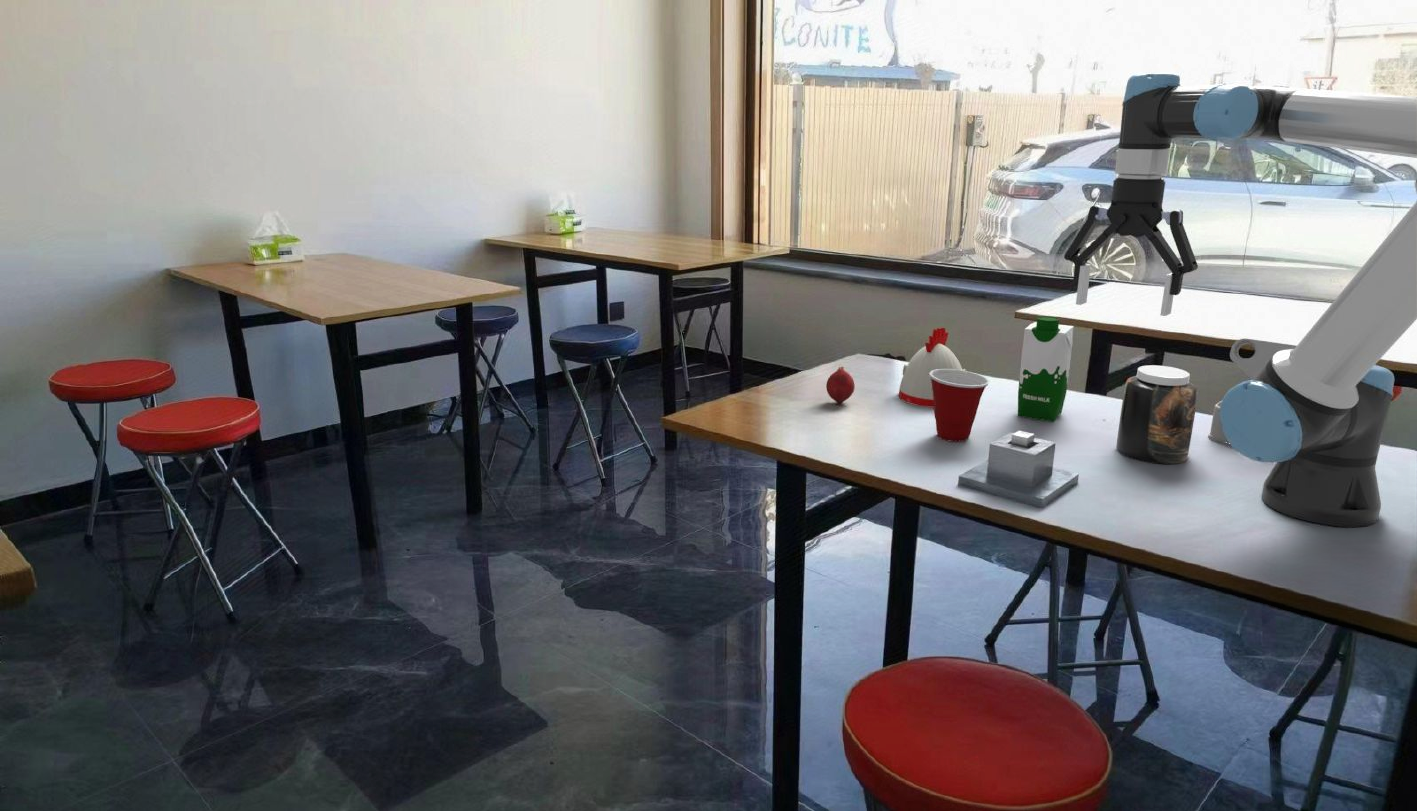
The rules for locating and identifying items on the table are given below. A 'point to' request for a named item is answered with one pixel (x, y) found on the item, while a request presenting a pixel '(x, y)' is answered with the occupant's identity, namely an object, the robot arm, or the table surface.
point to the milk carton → (1044, 369)
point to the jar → (1157, 415)
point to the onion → (840, 385)
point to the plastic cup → (956, 401)
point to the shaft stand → (1017, 492)
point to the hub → (1020, 461)
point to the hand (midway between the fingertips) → (1122, 309)
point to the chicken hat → (926, 369)
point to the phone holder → (1251, 368)
